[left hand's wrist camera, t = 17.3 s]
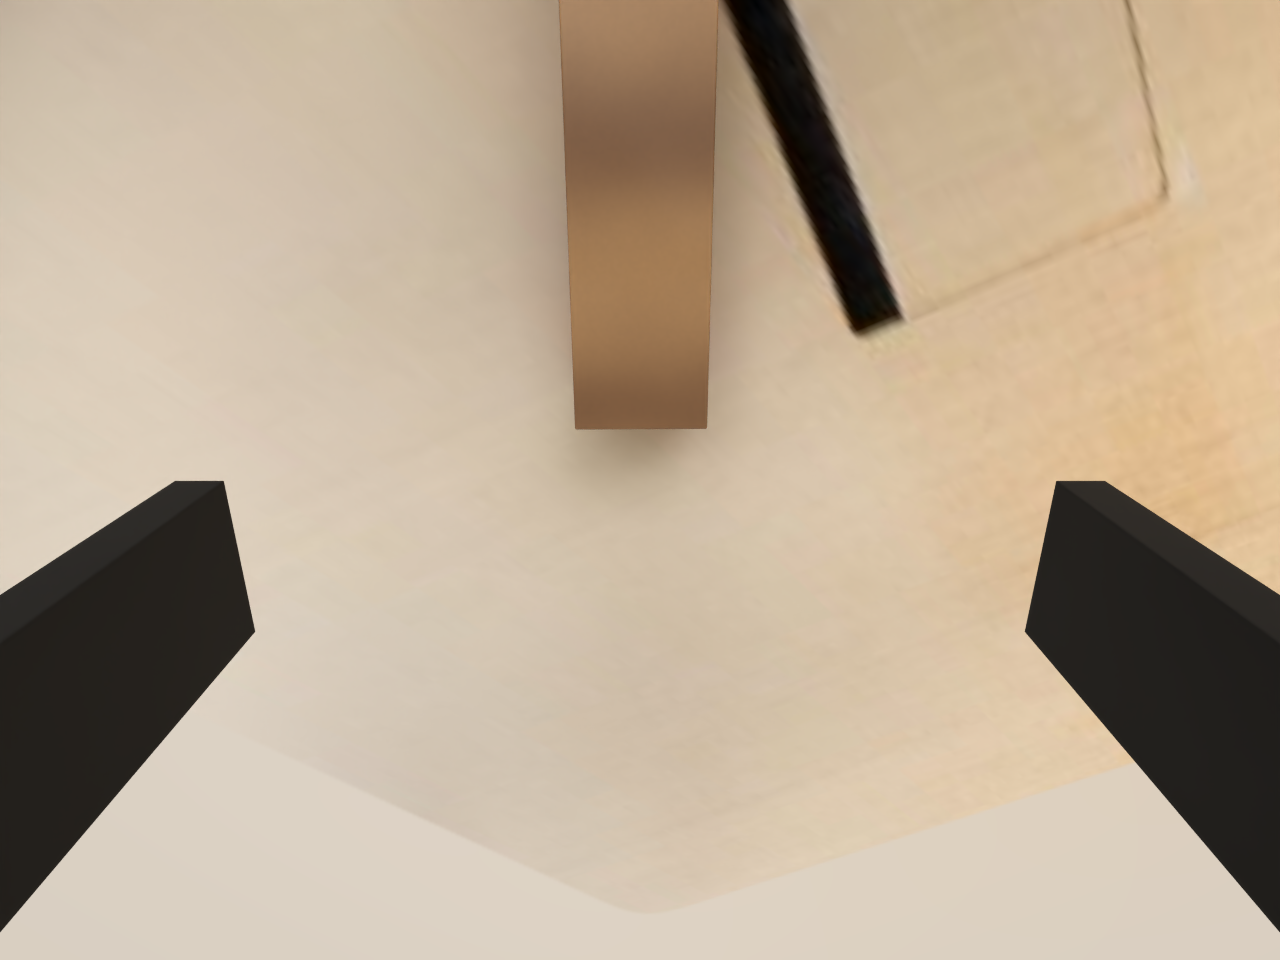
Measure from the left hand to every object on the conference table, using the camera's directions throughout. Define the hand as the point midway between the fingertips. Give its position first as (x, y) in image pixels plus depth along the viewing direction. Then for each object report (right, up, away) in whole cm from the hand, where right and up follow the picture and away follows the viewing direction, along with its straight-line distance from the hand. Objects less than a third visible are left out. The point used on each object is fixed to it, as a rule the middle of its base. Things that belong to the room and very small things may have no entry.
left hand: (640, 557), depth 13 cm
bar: (0, +17, +23) cm, 28 cm away
